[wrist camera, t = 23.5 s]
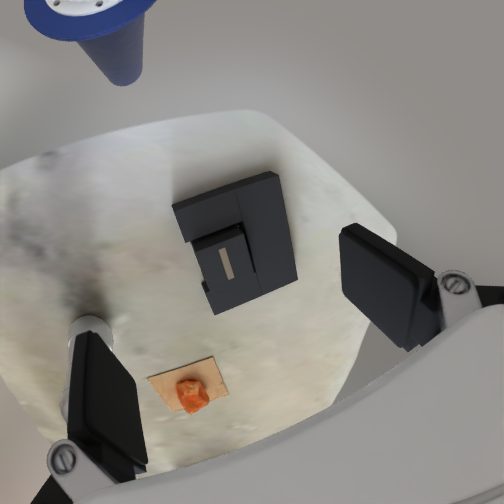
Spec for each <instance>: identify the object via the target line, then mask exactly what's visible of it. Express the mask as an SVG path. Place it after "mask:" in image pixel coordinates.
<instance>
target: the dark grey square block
mask: <svg viewBox="0 0 504 504" xmlns="http://www.w3.org/2000/svg"><path fill="white" fill-rule="evenodd" d="M191 244H192V247H193V249H194V252H195V255H196V257H197V260H198V263H199V265H200V268H201V271H202V273H203V276H204V278H205V280H206V283H207V285H208V287H209V290H210V292H212V291H215V290H217V289H220V288H222V287H225V286H227V285H230V284H232V283H234V282H237V281H239V280H242V279H244V278H247V277H249V276H251V275H254V270H253V266H252V263H251V259H250V255H249V251H248V248H247V244H246V240H245V237H244V233H243V232H242V231H241V230H240V229H239V228H238V227H237V226H236V224H234V225H231V226H228V227H226V228H223V229H220V230H218V231H215V232H212V233H210V234H207V235H205V236H202V237H199V238H197V239H194V240H192V241H191Z"/></svg>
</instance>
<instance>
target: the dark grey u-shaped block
mask: <svg viewBox="0 0 504 504" xmlns="http://www.w3.org/2000/svg"><path fill="white" fill-rule="evenodd" d="M172 208H173V211H174V213H175V216H176V219H177V222H178V224H179V227H180V230H181V232H182V235H183V238H184V240H185V243H187V242H189V241H192V240H194V239H197V238H199V237H202V236H205V235H207V234H210V233H212V232H215V231H218V230H220V229H223V228H226V227H228V226H231V225H234V224H236V223H239V225H240V228H241V231H242V232H243V233H244V237H245V240H246V244H247V248H248V251H249V255H250V259H251V263H252V266H253V270H254V275H251V276H249V277H247V278H244V279H242V280H239V281H237V282H234V283H232V284H230V285H227V286H225V287H222V288H220V289H217V290H215V291H212V292H210V290H209V287H208V285H207V283H206V282H203V283H202V286H203V289H204V291H205V294H206V296H207V299H208V301H209V303H210V306H211V308H212V311H213V313H214V315H217V314H219V313H222V312H224V311H227V310H229V309H231V308H234V307H236V306H239V305H241V304H243V303H246V302H248V301H250V300H253V299H255V298H258V297H260V296H262V295H264V294H267V293H269V292H271V291H274V290H276V289H278V288H281V287H283V286H285V285H287V284H290V283H292V282H294V281H296V280H298V277H297V271H296V265H295V259H294V254H293V248H292V242H291V237H290V231H289V226H288V221H287V215H286V210H285V205H284V200H283V194H282V189H281V184H280V179H279V175H278V174H276V173H274V172H272V171H268V172H265V173H262V174H259V175H256V176H252V177H249V178H246V179H243V180H240V181H237V182H234V183H231V184H229V185H225V186H223V187H220V188H217V189H214V190H211V191H208V192H206V193H203V194H200V195H197V196H195V197H192V198H189V199H186V200H184V201H181V202H178V203H176V204H173V205H172Z"/></svg>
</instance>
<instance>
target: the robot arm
mask: <svg viewBox="0 0 504 504" xmlns="http://www.w3.org/2000/svg"><path fill="white" fill-rule="evenodd" d="M45 1H46V2H47V4H48V5H49V7H50V8H51V9H52V10H54V11H55V12H57V13H59V14H62V15H65V16H86V15H91V14H95V13H98V12H101V11H104V10H106V9H108V8H110V7H112V6H114V5H116V4H118V3H119V2H121V1H123V0H45ZM58 4H59V5H58ZM57 5H58V6H57ZM99 5H102V6H100V7H98V6H99ZM339 247H340V262H341V281H342V291H343V294H344V295H345V297H346V298H347V299H349V300H350V301H351V302H352V303H353V304H354V305H355V306H356V307H357V308H358V309H359V310H360V311H361V312H362V313H363V314H364V315H365V316H366V317H368V318H369V319H370V320H371V321H372V322H373V323H374V324H375V325H376V326H377V327H378V328H379V329H380V330H381V331H382V332H383V333H384V334H385V335H386V336H388V338H390V339H391V341H393V342H394V343H395V344H396V345H397V346H398V347H400V348H401V347H403V348H404V349H405V350H406V351H407V352H409V351H410V350H412V349H413V348H414V347H416V346H417V345H418V344H420V345H421V346H422V348H420V349H419V350H417V351H416V352H414V353H413V354H412V355H410V356H409V357H407V358H406V359H405V360H403V361H402V362H400V363H399V364H398V365H397V366H395V367H393V368H392V369H390V370H389V371H387V372H386V373H385V374H383V375H382V376H380V377H378V378H377V379H375V380H374V381H372V382H371V383H369V384H367V385H366V386H364V387H363V388H361V389H359V390H358V391H356V392H354V393H353V394H351V395H350V396H348V397H346V398H344V399H343V400H341V401H339V402H337V403H335V404H334V405H332V406H330V407H328V408H326V409H325V410H323V411H321V412H319V413H317V414H315V415H313V416H311V417H309V418H307V419H305V420H303V421H301V422H299V423H297V424H295V425H293V426H291V427H289V428H287V429H285V430H283V431H280V432H278V433H276V434H274V435H271V436H269V437H267V438H264V439H262V440H260V441H257V442H255V443H252V444H250V445H247V446H245V447H242V448H240V449H237V450H235V451H232V452H229V453H226V454H224V455H221V456H218V457H215V458H212V459H209V460H206V461H203V462H200V463H197V464H193V465H190V466H186V467H183V468H179V469H176V470H172V471H169V472H165V473H161V474H158V475H154V476H150V477H145V478H141V479H136V476H135V475H136V474H141V473H145V472H147V471H146V466H145V464H147V463H148V457H147V452H146V447H145V441H144V436H143V430H142V424H141V417H140V411H139V404H138V396H137V388H136V383H135V381H134V379H133V377H132V376H131V375H130V374H129V372H128V371H127V370H126V369H125V368H124V366H123V365H122V364H121V363H120V361H119V360H118V359H117V358H116V356H115V355H114V354H113V353H112V351H111V350H110V349H109V347H108V346H107V345H106V343H105V342H104V341H103V339H102V338H101V337H100V335H99V334H98V333H97V332H95V333H93V332H92V331H91V330H88V331H86V332H83V333H81V334H78V335H76V338H75V344H74V351H73V359H72V367H71V376H70V387H69V401H68V423H67V433H68V439H61V440H59V441H57V442H56V443H54V444H53V445H52V447H51V448H50V450H49V452H48V455H47V466H48V469H49V471H50V473H51V475H50V477H49V478H48V479H47V481H46V482H45V484H44V485H43V486H42V488H41V489H40V491H39V492H38V494H37V495H36V496H35V498H34V499H33V501H32V502H31V504H504V287H503V286H502V287H501V286H476V285H475V284H474V282H473V280H472V278H471V277H470V276H469V275H467V274H466V273H464V272H461V271H458V270H448V271H445V272H442V273H441V274H440V275H439V277H438V279H437V278H436V277H434V273H435V272H434V271H433V270H431V269H430V268H428V267H427V266H425V265H424V264H422V263H421V262H419V261H418V260H416V259H415V258H413V257H412V256H410V255H409V254H407V253H405V252H404V251H402V250H401V249H399V248H398V247H396V246H394V245H393V244H391V243H390V242H388V241H386V240H385V239H383V238H381V237H380V236H378V235H376V234H375V233H373V232H371V231H370V230H368V229H366V228H365V227H363V226H361V225H360V224H358V223H353V224H351V225H348V226H346V227H344V228H342V230H341V233H340V234H339Z"/></svg>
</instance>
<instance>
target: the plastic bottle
mask: <svg viewBox="0 0 504 504" xmlns="http://www.w3.org/2000/svg"><path fill="white" fill-rule="evenodd" d="M88 330H91V331H92V332H93V333H95V332H97V333H98V334H99V335H100V337H101V338H102V339H103V341H104V342H105V343H106V345H107V346H108V347H109V349H110V350H111V351H112V348H113V335H112V331H111V329H110V327H109V326H108V324H107V323H106V322H104V321H103V320H102V319H100V318H98V317H95V316H83V317H80V318H78V319H76V320H75V321H74V322H73V323H72V325H71V327H70V329H69V332H68V347H69V360H68V369H67V374H66V380H65V383H64V387H63V390H62V394H61V398H60V410H61V413H62V416H63V418H64V419H65V421H66V423H68V401H69V387H70V376H71V367H72V359H73V351H74V344H75V338H76V335H78V334H81V333H83V332H86V331H88Z"/></svg>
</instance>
